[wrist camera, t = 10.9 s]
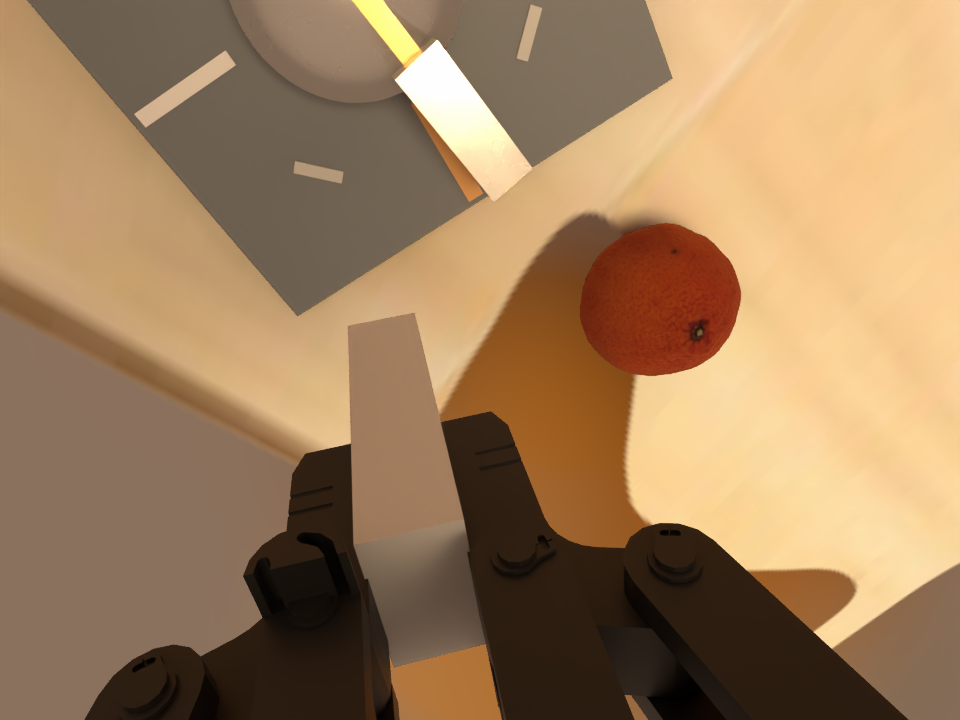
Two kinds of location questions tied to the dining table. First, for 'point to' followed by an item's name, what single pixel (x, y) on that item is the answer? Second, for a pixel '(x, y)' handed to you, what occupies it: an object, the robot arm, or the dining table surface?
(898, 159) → the dining table surface
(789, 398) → the dining table surface
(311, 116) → the panel
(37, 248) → the dining table surface
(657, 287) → the fruit
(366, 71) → the dial
